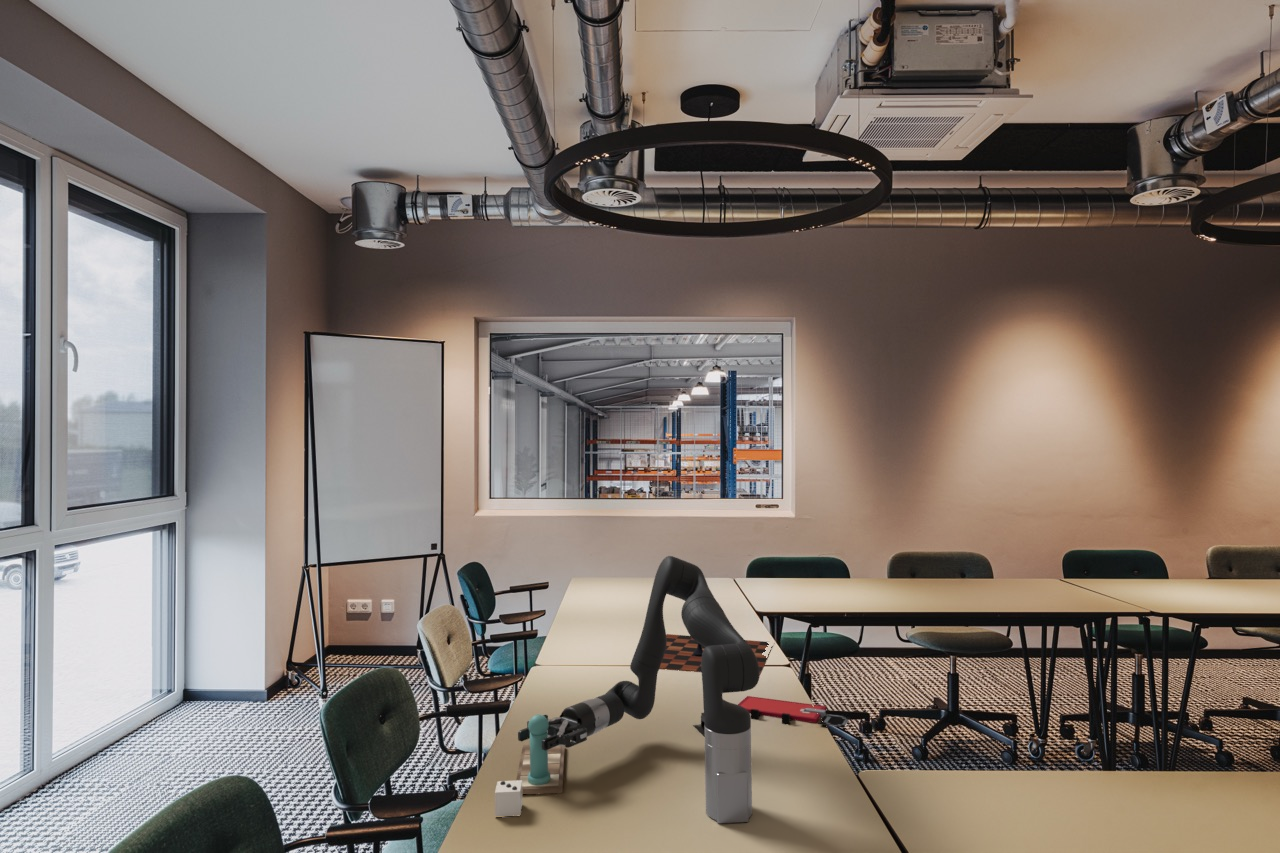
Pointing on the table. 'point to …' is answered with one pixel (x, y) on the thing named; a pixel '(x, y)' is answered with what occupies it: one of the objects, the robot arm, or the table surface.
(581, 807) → the table surface
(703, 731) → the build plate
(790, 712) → the red board with handle
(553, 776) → the board
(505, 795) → the die
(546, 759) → the pawn
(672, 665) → the chessboard
